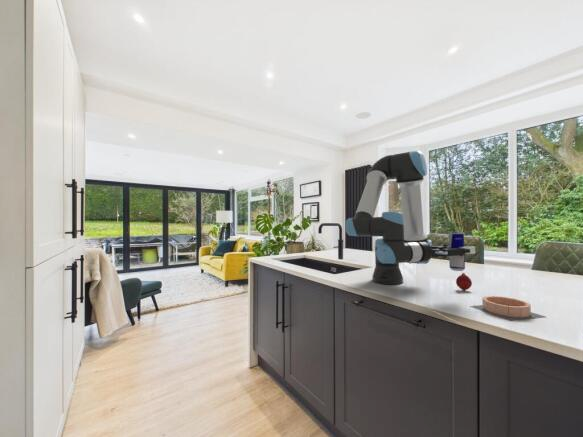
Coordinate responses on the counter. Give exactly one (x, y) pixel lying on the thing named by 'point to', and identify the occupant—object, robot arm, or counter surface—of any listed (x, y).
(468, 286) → the onion
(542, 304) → the counter surface
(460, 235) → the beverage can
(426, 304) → the counter surface
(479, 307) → the mat
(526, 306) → the bowl
